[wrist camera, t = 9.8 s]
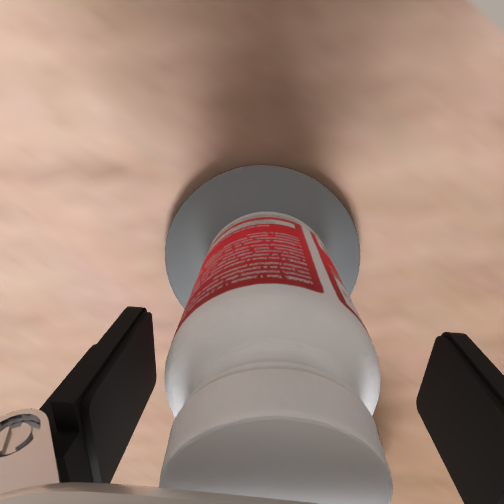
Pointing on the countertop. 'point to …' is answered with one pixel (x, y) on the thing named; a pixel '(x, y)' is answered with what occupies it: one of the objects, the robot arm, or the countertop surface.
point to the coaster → (250, 201)
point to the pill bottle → (273, 374)
